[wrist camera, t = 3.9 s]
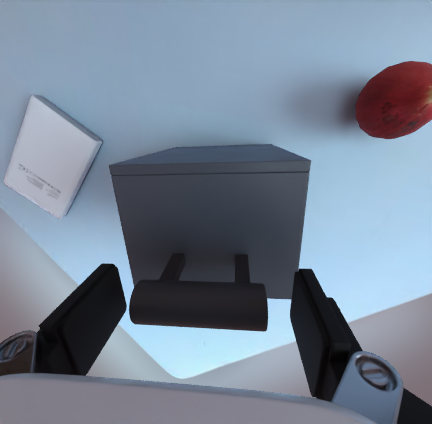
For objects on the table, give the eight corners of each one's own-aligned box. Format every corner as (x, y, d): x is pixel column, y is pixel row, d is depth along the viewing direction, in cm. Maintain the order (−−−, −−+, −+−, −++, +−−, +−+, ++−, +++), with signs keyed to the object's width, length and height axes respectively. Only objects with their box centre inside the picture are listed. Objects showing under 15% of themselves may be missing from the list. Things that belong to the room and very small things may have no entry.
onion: (388, 139, 23) (460, 146, 15) (333, 133, 23) (378, 136, 16) (413, 76, 21) (511, 48, 13) (352, 70, 21) (414, 39, 14)
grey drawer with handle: (32, 185, 8) (92, 360, 11) (361, 180, 7) (321, 378, 10) (175, 147, 25) (182, 218, 28) (271, 144, 24) (267, 218, 27)
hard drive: (104, 141, 26) (67, 215, 30) (42, 95, 25) (12, 179, 29) (96, 142, 24) (58, 219, 29) (29, 93, 23) (0, 182, 27)
